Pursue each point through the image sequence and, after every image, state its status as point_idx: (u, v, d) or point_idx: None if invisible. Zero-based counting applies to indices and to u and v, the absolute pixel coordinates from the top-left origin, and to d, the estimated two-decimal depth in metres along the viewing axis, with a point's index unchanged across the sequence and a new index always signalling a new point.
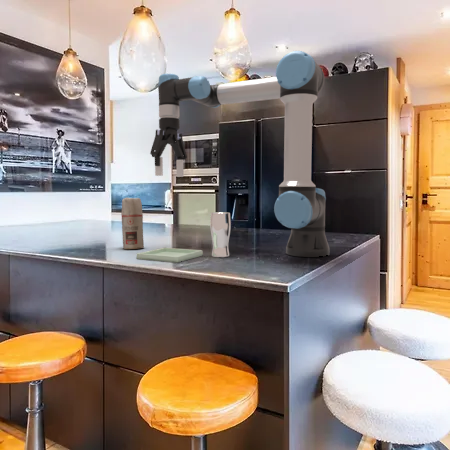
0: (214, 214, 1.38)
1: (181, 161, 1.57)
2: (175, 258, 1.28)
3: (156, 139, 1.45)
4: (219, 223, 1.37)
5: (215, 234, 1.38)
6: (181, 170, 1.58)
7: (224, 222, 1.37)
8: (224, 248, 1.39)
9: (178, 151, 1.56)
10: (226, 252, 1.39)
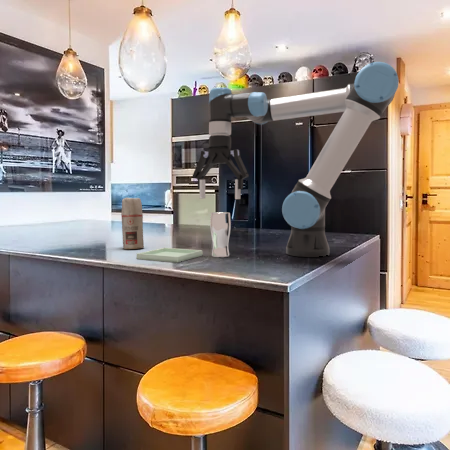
0: (214, 214, 1.38)
1: None
2: (175, 258, 1.28)
3: None
4: (219, 223, 1.37)
5: (215, 234, 1.38)
6: None
7: (224, 222, 1.37)
8: (224, 248, 1.39)
9: None
10: (226, 252, 1.39)
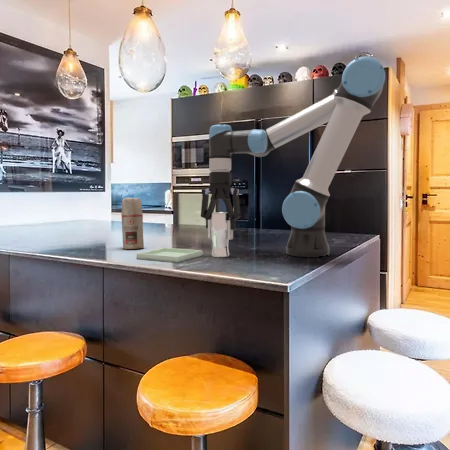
0: (214, 214, 1.38)
1: None
2: (175, 258, 1.28)
3: None
4: (219, 223, 1.37)
5: (215, 234, 1.38)
6: None
7: (224, 222, 1.37)
8: (224, 248, 1.39)
9: None
10: (226, 252, 1.39)
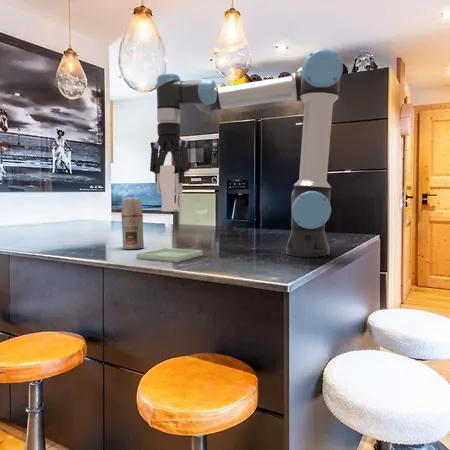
0: (162, 166, 1.34)
1: None
2: (175, 258, 1.28)
3: None
4: (167, 175, 1.33)
5: (163, 188, 1.34)
6: None
7: (172, 175, 1.33)
8: (173, 202, 1.35)
9: None
10: (175, 206, 1.35)
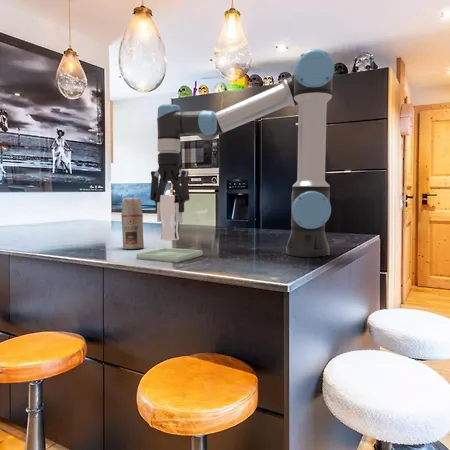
0: (162, 196, 1.34)
1: None
2: (175, 258, 1.28)
3: None
4: (167, 205, 1.34)
5: (163, 217, 1.35)
6: None
7: (172, 204, 1.34)
8: (173, 231, 1.36)
9: None
10: (175, 235, 1.36)
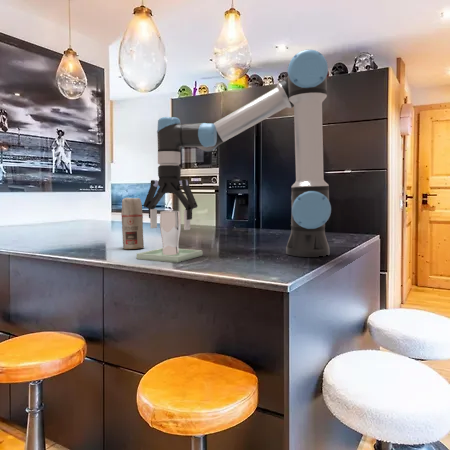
0: (163, 213, 1.35)
1: None
2: (175, 258, 1.28)
3: None
4: (168, 222, 1.34)
5: (164, 234, 1.35)
6: None
7: (173, 221, 1.34)
8: (173, 247, 1.36)
9: None
10: (176, 251, 1.37)
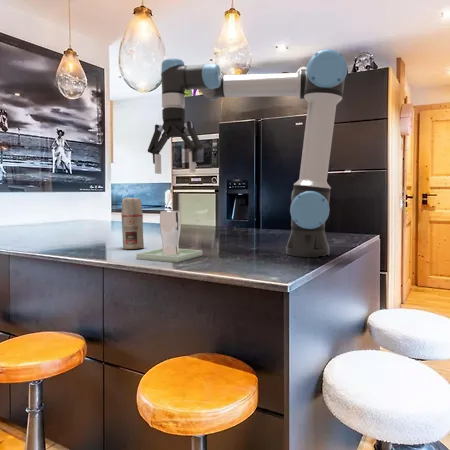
0: (163, 213, 1.35)
1: None
2: (175, 258, 1.28)
3: None
4: (168, 222, 1.34)
5: (164, 233, 1.36)
6: None
7: (173, 221, 1.35)
8: (173, 247, 1.36)
9: None
10: (176, 251, 1.37)
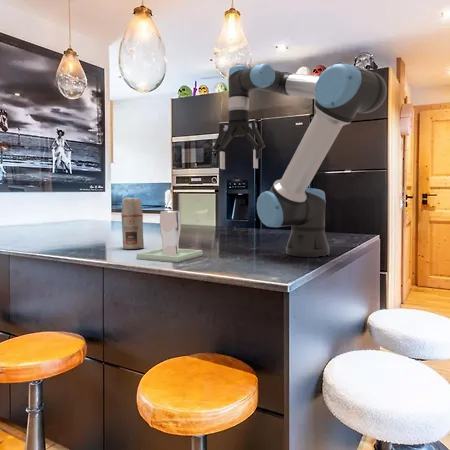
0: (163, 213, 1.35)
1: None
2: (175, 258, 1.28)
3: None
4: (168, 222, 1.34)
5: (164, 234, 1.36)
6: None
7: (173, 221, 1.35)
8: (173, 247, 1.36)
9: (250, 141, 1.49)
10: (176, 251, 1.37)
